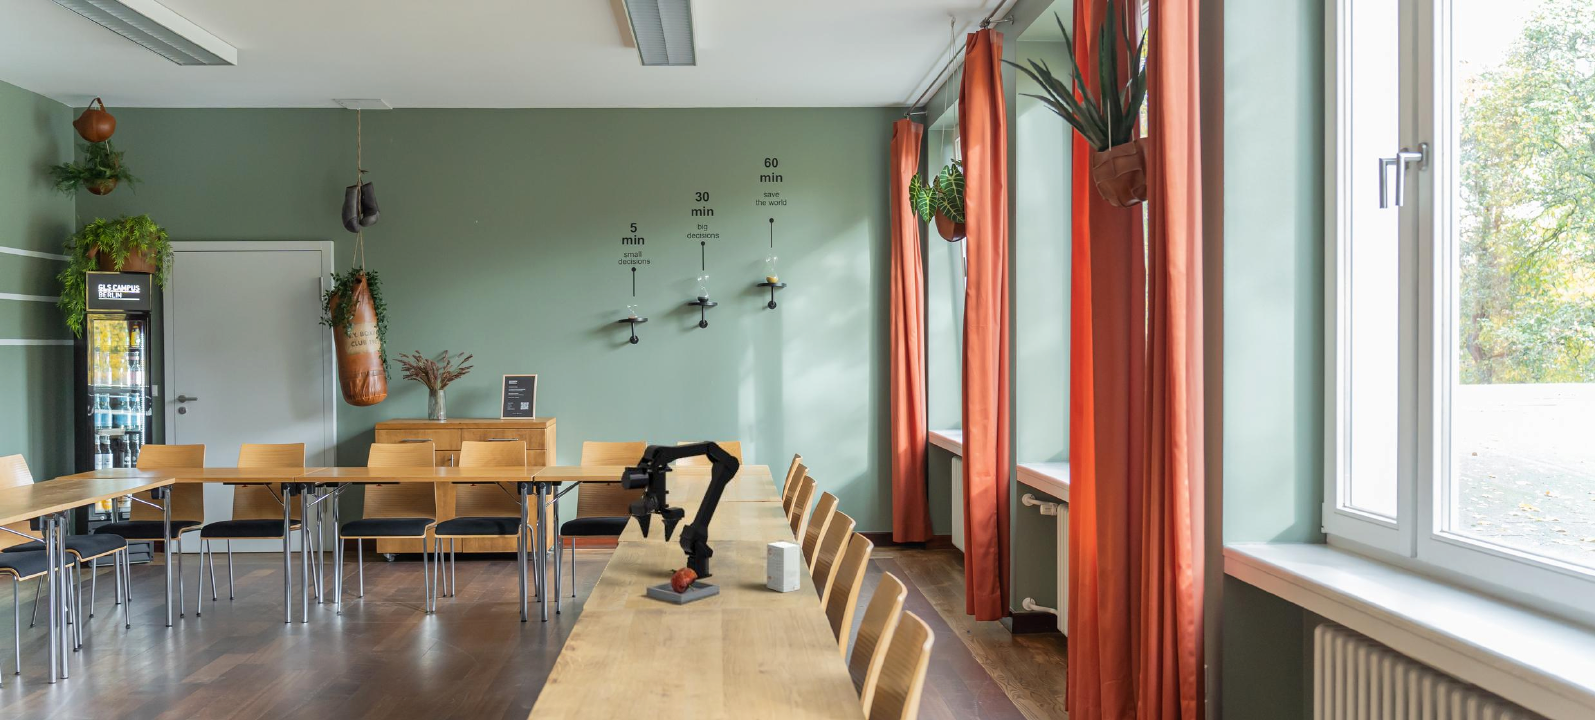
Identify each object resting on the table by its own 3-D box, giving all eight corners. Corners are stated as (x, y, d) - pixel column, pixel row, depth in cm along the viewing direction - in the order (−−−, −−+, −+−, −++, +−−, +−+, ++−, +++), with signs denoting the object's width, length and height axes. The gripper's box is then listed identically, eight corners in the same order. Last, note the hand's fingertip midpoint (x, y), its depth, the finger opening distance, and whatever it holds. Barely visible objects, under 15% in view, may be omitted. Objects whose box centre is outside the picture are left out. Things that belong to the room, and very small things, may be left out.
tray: (684, 586, 277) (684, 577, 277) (719, 593, 269) (719, 585, 269) (646, 596, 266) (646, 587, 266) (681, 604, 257) (681, 595, 257)
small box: (800, 589, 274) (800, 545, 274) (783, 593, 270) (783, 547, 270) (783, 584, 280) (783, 540, 280) (766, 587, 276) (766, 543, 276)
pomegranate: (698, 597, 270) (675, 573, 273) (710, 580, 267) (686, 556, 270) (682, 606, 263) (659, 581, 267) (694, 588, 260) (670, 563, 264)
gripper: (614, 487, 280) (614, 539, 280) (658, 493, 269) (658, 547, 269) (642, 483, 289) (642, 534, 289) (686, 489, 278) (686, 541, 278)
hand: (656, 539), depth 281 cm, fingers open, 9 cm apart
